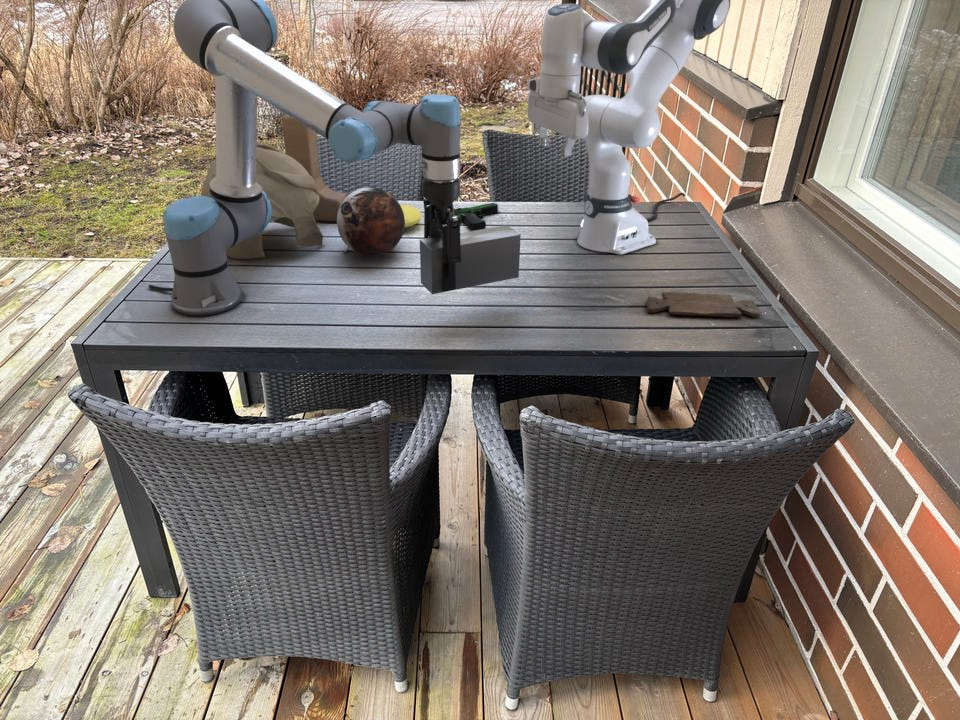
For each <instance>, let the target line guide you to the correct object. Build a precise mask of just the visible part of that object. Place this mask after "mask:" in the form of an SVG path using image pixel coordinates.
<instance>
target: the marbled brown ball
mask: <svg viewBox="0 0 960 720" xmlns="http://www.w3.org/2000/svg"><path fill="white" fill-rule="evenodd" d="M400 205H401V204H400V203H399V201H398V200H397V198H395V197H394V196H393V195H392V191H390V192H388V191H386V190H384V189H381V188H380V187H379V188H378V187H371V186H370V187H362V188H358V189H356V190H354V191H352V192H350V193H349V194H348V195H347V197H346V198H345V199H344V201H343V202H342V204H341V205H340V208H339V210H338V214H337V222H336V227H337V231H338V234H339V237H340V238H341V240H342V241H343V244H345V246H347V247H346V248H345V249H344V252H343V253H346V252H348V251H349V249H350V250H352V251H353V252H355V253H356V254H359V255H362V256H364V257H365V256H366V257H378V256H383V255H385V254H387V253H389V252H391V251H392V250H393V249H394V248H395V247H396V246H397V245H398V244H399V242H400V241H401V240H402V238H403V235H404V232H405V229H406V228H405V218H404V213H403V210H402V208H401V206H400Z"/></svg>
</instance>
